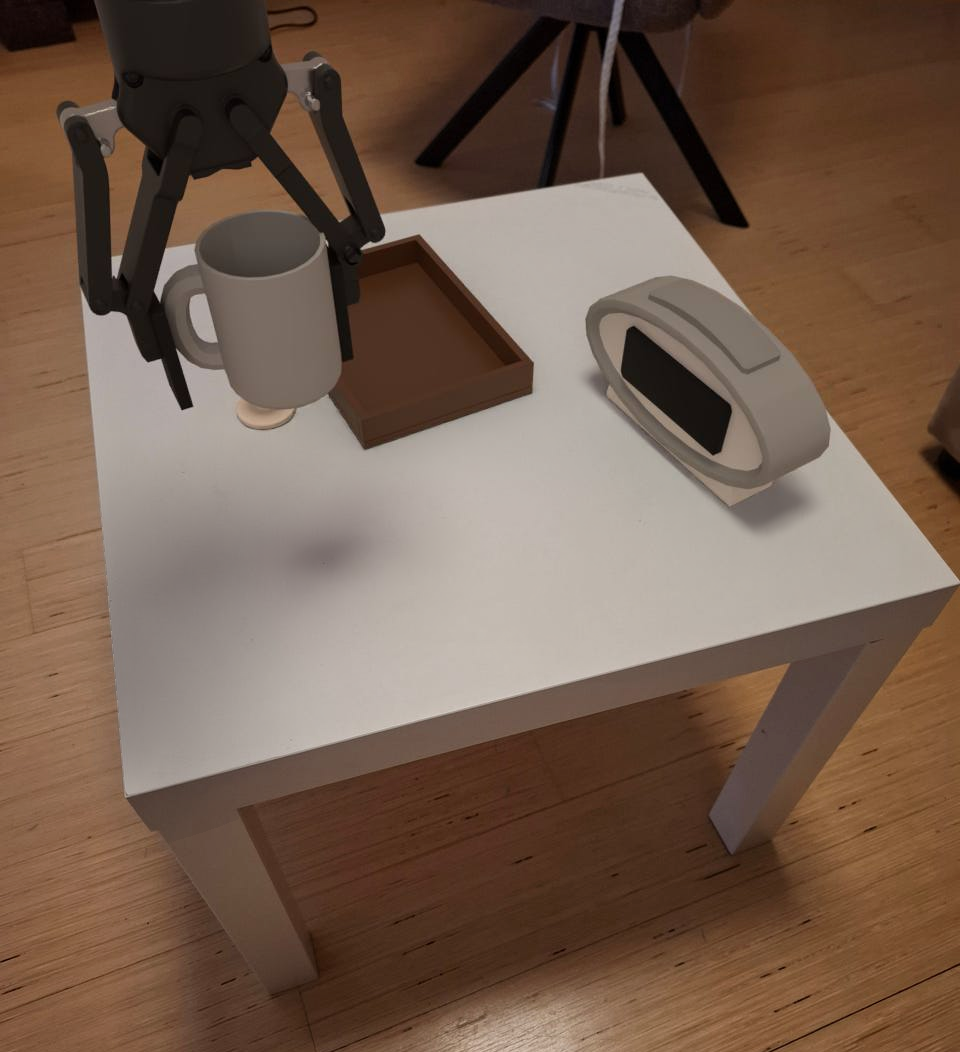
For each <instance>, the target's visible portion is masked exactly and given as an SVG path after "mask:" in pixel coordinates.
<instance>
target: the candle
mask: <svg viewBox="0 0 960 1052" xmlns="http://www.w3.org/2000/svg"><path fill="white" fill-rule="evenodd" d="M296 409H297V408H293V409H281V410H274V409H267V408H261V407H258V406H256V405H253V404H250V403H249V402H247V401H246V400H244V399H243V398H241V397H240V398H239V400H238V401H237V403H236V406H235V410H236V411H235V412H236V416H237V418H238V420H239V422H241V423H242V424H243V425H244V426H247V427H248V428H251V429H256V430H270V429H275V428H279V427H281V426H283V425H284V424H286V423H288V422H289V421H290V420H291V419H292V418H293V417H294V415H295V413H296Z"/></svg>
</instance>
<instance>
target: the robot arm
mask: <svg viewBox="0 0 960 1052" xmlns="http://www.w3.org/2000/svg"><path fill="white" fill-rule="evenodd" d="M93 1H94V5H95V8H96V11H97V12H96V13H97V16H98V18H99V23H100V26H101V30H102V33H103V37H104V40H105V43H106V47H107V51H108V54H109V58H110V61H111V65H112V70H113V85H112V90H111V98H109V99H108V98H107V99H105V100H101V101H98V102H94V103H92V104H88V105H84V106H81V107H80V105H79V104H77V103H76V102H75V101H71V100H63V101H62V102H60V103H59V104H58V105H57V106H56V110H55V114H56V118H57V121H58V123H59V125H60V127H61V130H62V132H63V134H64V135H63V136H64V137H65V139H66V142H67V144H68V147H69V149H70V152H71V162H72V178H73V179H72V181H73V197H74V214H75V215H74V216H75V232H76V250H77V252H76V253H77V268H78V283H79V287H80V290H81V291H82V293H83V296H84V298H85V301H86V303H87V305H88V307H89V309H90V311H91V312H92V314H94V315H96V316H100V317H101V316H107V315H109V314H110V313H111V312H113V313H114V312H115V313H121V314H122V315H124V316H126V319H127V322H128V325H129V328H130V331H131V333H132V337H133V339H134V342H135V345H136V347H137V349H138V352H139V354H140V356H141V357H142V359H143V360H145V362H147V363H151V362H155V361H158V360H161V364H162V367H163V370H164V373H165V376H166V379H167V382H168V386H169V387H170V390H171V391H172V394H173V396H174V398H175V400H176V402H177V404H178V406H179V409H180V410H181V411H184V410H189V409H191V408H194V403H193V400H192V396H191V394H190V390H189V387H188V383H187V380H186V377H185V374H184V370H183V366H182V364H181V361H180V357H179V353H178V350H177V349H176V347H175V343H174V340H173V337H172V333H171V330H170V327H169V323H168V320H167V317H166V313H165V311H164V309H163V307H162V306H161V304H160V300H159V298H158V296H157V294H156V292H155V288H156V286H157V282H158V278H159V275H160V270H161V267H162V262H163V259H164V255H165V252H166V247H167V245H168V241H169V237H170V233H171V230H172V226H173V222H174V218H175V214H176V211H177V208H178V204H179V203H180V202H182V200H183V199H184V196H185V193H186V189H187V185H188V182H189V178H190V177H191V178H192V179H193V181H196V180H200V179H204V178H205V179H206V178H208V177H210V176H213V175H215V174H216V173H218V172H219V171H222V170H233V171H234V170H236V171H240V170H243V169H248V168H251V167H253V164H252V162H253V161H255V160H256V159H257V158H258V159H259V161H261V163H262V164H263V165H264V167H265V168H266V169H267V170H268V171H269V173H270V174H271V176H273V177H274V178H275V180H276V181H277V182H278V183H279V184H280V185H281V187H282V188H283V189H284V190H285V192H286V193H287V194H288V196H290V198H291V199H292V200H293V201H294V203H295V204H296V205H297V206H298V208H299V209H300V210H301V211H302V212H303V215H304V216H305V217H307V218H309V220H310V221H311V222H312V223H313V225H314V226H315V227H316V228H317V229H318V231H319V232H320V233H324V235H325V240H326V247H327V255H328V262H329V269H330V277H331V284H332V291H333V299H334V306H335V313H336V320H337V328H338V335H339V342H340V350H341V360H342V361H343V362H345V361H348V360H352V359H354V356H353V348H352V340H351V332H350V324H349V316H348V308H347V306H349V305H352V304H356V303H359V299H360V295H361V293H360V286H359V285H360V284H359V275H358V265H360V263H361V262H362V260H363V253H362V251H361V250H362V248H363V247H365V246H366V245H367V244H369V243H372V244H378V243H380V242H381V241H382V240H384V238H385V237H386V233H387V231H386V226H385V223H384V221H383V218H382V215H381V213H380V211H379V208H378V205H377V203H376V200H375V197H374V195H373V192H372V189H371V187H370V184H369V181H368V179H367V177H366V174H365V171H364V169H363V166H362V163H361V161H360V158H359V155H358V153H357V150H356V147H355V144H354V143H353V139H352V137H351V134H350V132H349V129H348V126H347V123H346V121H345V118H344V116H343V95H342V94H343V93H342V78H341V76H340V74H339V72H338V71H337V70H336V69H335V68H334V67H333V66H332V65H331V63H329V61H328V60H326V58H325V57H324V56H323V55H322V54H321V53H319V52H318V51H315V50H310V51H307V53H306V54H304V56H303V58H302V60H301V61H295V62H287V63H280V62H279V60H278V59H277V57H276V55H275V52H274V49H273V42H272V35H271V28H270V22H269V16H268V11H267V3H266V0H93ZM288 93H290V94H293V96H294V99H295V101H296V102H297V103H298V105H299V106H300V107H301V108H302V109H303V110H304V111H305V112H307V113H308V116H309V118H310V121H311V123H312V125H313V128H314V131H315V133H316V135H317V138H318V141H319V143H320V145H321V147H322V150H323V153H324V155H325V158H326V160H327V162H328V165H329V167H330V169H331V172H332V174H333V177H334V179H335V182H336V184H337V186H338V189H339V191H340V194H341V197H342V198H343V201H344V203H345V206H346V208H347V211H348V213H349V215H347V217H344V219H342V220H341V221H339V220H338V218H337V217H336V215H334V213H333V212H332V211H331V209H330V208H329V207H328V206H327V204H326V203H325V202H324V200H323V199H322V198H321V196H320V195H319V194H318V193H317V191H316V190H315V189H314V188H313V187H312V185H311V184H310V183H309V182H308V180H307V178H306V177H305V176H304V175H303V174H302V172H301V171H300V169H298V167H297V166H296V165H295V164H294V162H293V161H292V160H291V158H290V157H289V156H288V154H287V153H286V152H285V151H284V150H283V148H282V147H281V145H280V144H279V143H278V142H277V140H276V139H275V138H274V136H273V135H272V134H271V132H272V130H273V128H274V126H275V123H276V121H277V119H278V116H279V114H280V112H281V109H282V107H283V106H284V105H283V104H284V103H285V101H286V98H287V96H288ZM121 129H126V131H128V132H129V133H130V134H131V135H132V136H134V137H135V138H136V139H137V140H138V141H140V143H142V144H143V145H144V146H145V147H144V151H143V155H142V160H141V177H140V181H139V186H138V190H137V195H136V198H135V202H134V207H133V210H132V215H131V217H130V218H131V219H130V222H129V228H128V231H127V235H126V239H125V244H124V246H123V247H124V248H123V251H122V255H121V260H120V264H119V268H118V272H117V275H116V276H115V275H113V268H112V267H113V261H112V230H111V194H110V192H111V191H110V176H109V171H108V168H107V163H106V161H105V159H106V158H110V157H111V156H112V155H113V153H114V152H115V150H116V143H115V141H116V140H115V138H116V134H117V133H118V132H119V131H120V130H121Z"/></svg>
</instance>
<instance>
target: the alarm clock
mask: <svg viewBox="0 0 960 1052" xmlns="http://www.w3.org/2000/svg"><path fill="white" fill-rule="evenodd" d="M584 321H585V322H584V323H585V336H586V338H587V341H588V344H589V347H590V350H591V353H592V356H593V358H594V360H595V362H596V364H597V366H598V367H599V369H600V371H601V374H602V376H603V377H604V379H605V380H606V382H607V383H608V384H609V385H608V387H607V390H606V397H607V398H608V399H609V400H610V401H611V402H613V404H615V405H616V406H617V407H618V408H619V409H620V410H621V411H623V412H624V413H625V415H627V416H628V418H630V419H631V420H632V421H634V422H635V424H637V425H638V426H639V427H640V428H641V429H642V430H644V432H646V433H647V434H648V435H649V436H650V437H651V438H652V439H654V440H655V441H656V442H657V443H658V444H659V445H660V446H661V447H662V448H663V449H665V451H667V452H668V453H669V454H670V455H671V456H672V457H674V459H676V460H677V461H678V462H679V463H680V464H681V465H682V466H683V467H685V468H686V469H687V470H688V472H690V473H691V474H692V475H693V476H695V477H696V478H697V479H698V480H699V481H700V482H701V483H702V484H703V485H704V486H705V487H707V488H708V489H709V490H710V491H711V492H712V493H713V494H714V495H716V496H717V497H718V498H719V499H720V500H721V501H723V503H725V504H726V506H727V507H729V508H730V507H732V506H735V505H737V504H738V503H740V502H742V501H745V500H746V499H749V498H750V497H752V496H754V495H757V494H758V493H760V492H762V491H764V490H765V489H768V488H770V487H771V486H772V485H773V483H774V481H776V480H777V479H780V478H782V477H784V476H786V475H787V474H789V473H791V472H793V471H795V470H797V469H799V468H802V467H803V466H805V465H807V464H809V463H811V462H813V461H816V460H817V459H820V458H821V457H822V456H823V454H824V453H825V451H827V449H828V448H829V447H830V440H831V432H832V431H831V429H832V428H831V424H830V420H829V417H828V413H827V409H826V406H825V404H824V402H823V400H822V398H821V396H820V394H819V391H818V390H817V389H816V386H815V385H814V384H815V383H814V382H813V381H812V379H811V377H810V376H809V375H808V373H806V371H805V369H804V368H803V367H802V365H801V364H800V363H799V361H798V360H797V358H796V357H795V356H794V354H793V352H791V351H790V350H789V349H788V348H787V347H786V345H784V344H783V342H781V340H780V339H778V338H777V336H776V335H775V334H774V333H773V332H772V331H771V330H770V329H769V328H768V327H767V326H765V325H764V324H763V323H762V322H760V320H758V319H757V318H756V317H755V316H753V315H752V314H751V313H750V312H749V311H748V310H746V309H745V308H744V307H743V306H741V305H739V304H738V303H737V302H735V301H733V300H732V299H730V298H728V297H727V296H726V295H724V294H723V293H721V292H720V291H717V290H716V289H714V288H712V287H709V286H707V285H705V284H702V283H701V282H698V281H696V280H694V279H690V278H685V277H680V276H675V275H663V276H655V277H652V278H650V279H647V280H644V281H642V282H640V283H637V284H634V285H631V286H629V287H626V288H624V289H622V290H619V291H616V292H614V293H611V294H609V295H607V296H603V297H601V298H599V299H598V300H596V301H595V302H593V303H592V304H591V305H590V306H589V307H588V310H587V313H586V316H585V318H584Z"/></svg>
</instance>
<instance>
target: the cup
mask: <svg viewBox="0 0 960 1052" xmlns="http://www.w3.org/2000/svg"><path fill="white" fill-rule="evenodd" d="M326 244H327V240H326V239H325V235H324V233H320V232H319V231H318V229H317V228H316V227H315V226H314V225H313V223H312V222H311V221H310V220H309V218H308V217H307V216H306V215H304V214H300V213H297V212H293V211H289V210H284V209H283V210H282V209H253V210H247V211H242V212H237V213H234V214H231V215H229V216H225V217H223V218H221V219H219V220H217V221H216V222H214V223H211V224H210V225H209V226H208V227H207V228H205V229H204V230H203V231H202V232H201V233H200V235H199V236H198V238H197V239H196V241H195V245H194V254H195V258H196V263H195V264H189V265H186V266H184V267H182V268H180V269H178V270H176V271H175V272H174V273H172V275H171V276H170V277H169V279H168V280H167V281H166V282H165V284H164V285H163V287H162V292H161V295H160V300H159V302H160V304H161V306H162V307H163V309H164V311H165V313H166V317H167V320H168V323H169V327H170V330H171V333H172V337H173V340H174V343H175V347H176V350H177V352H179V353H180V354H181V356H182V357H183V358H184V359H185V360H186V361H187V362H189V363H191V364H193V365H194V366H195V367H198V368H200V369H205V370H211V371H219V370H221V371H222V370H223V371H224V372H225V374H226V377H227V380H228V384H229V386H230V388H231V389H232V390H233V391H234V392H235V394H236V395H237V396H238V397H240V399H241V398H243V399H244V400H246V401H247V402H249V403H250V404H253V405H256V406H258V407H261V408H267V409H274V410H281V409H293V408H296V409H297V408H302V407H306V406H308V405H311V404H313V403H316V402H318V401H319V400H321V399H322V398H324V397H326V396H327V395H328V393H329V392H330V391H331V389H332V388H333V387H334V386H335V384H336V383H337V381H338V379H339V377H340V374H341V366H342V362H341V350H340V342H339V335H338V328H337V320H336V313H335V306H334V299H333V291H332V284H331V277H330V269H329V262H328V255H327V247H326ZM197 295H205V298H206V301H207V305H208V309H209V312H210V317H211V321H212V325H213V329H214V333H215V336H216V342H215V341H214V342H211V341H210V342H209V341H205V340H203V339H202V338H201V337H200V336H199V335H198V333H197V332H196V329H195V327H194V325H193V321H192V317H191V309H190V305H191V304H190V303H191V299H192V297H195V296H197Z"/></svg>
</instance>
